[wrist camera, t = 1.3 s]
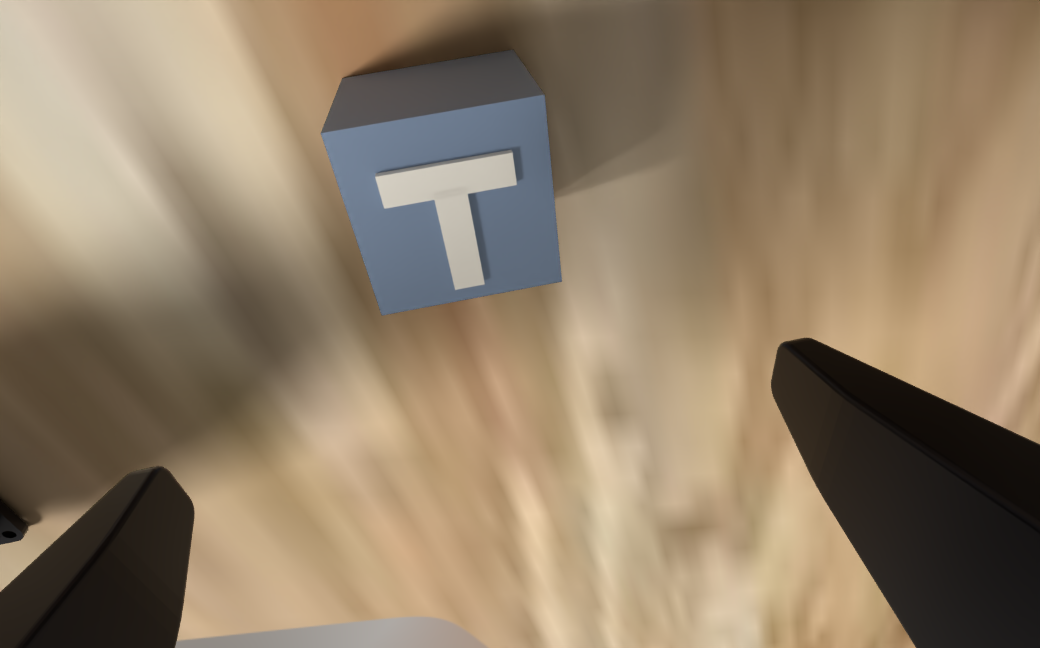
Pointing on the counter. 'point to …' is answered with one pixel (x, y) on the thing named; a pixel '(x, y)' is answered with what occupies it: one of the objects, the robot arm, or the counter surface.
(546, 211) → the letter cube
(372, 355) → the counter surface
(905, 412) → the robot arm
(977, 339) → the counter surface
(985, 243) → the counter surface
